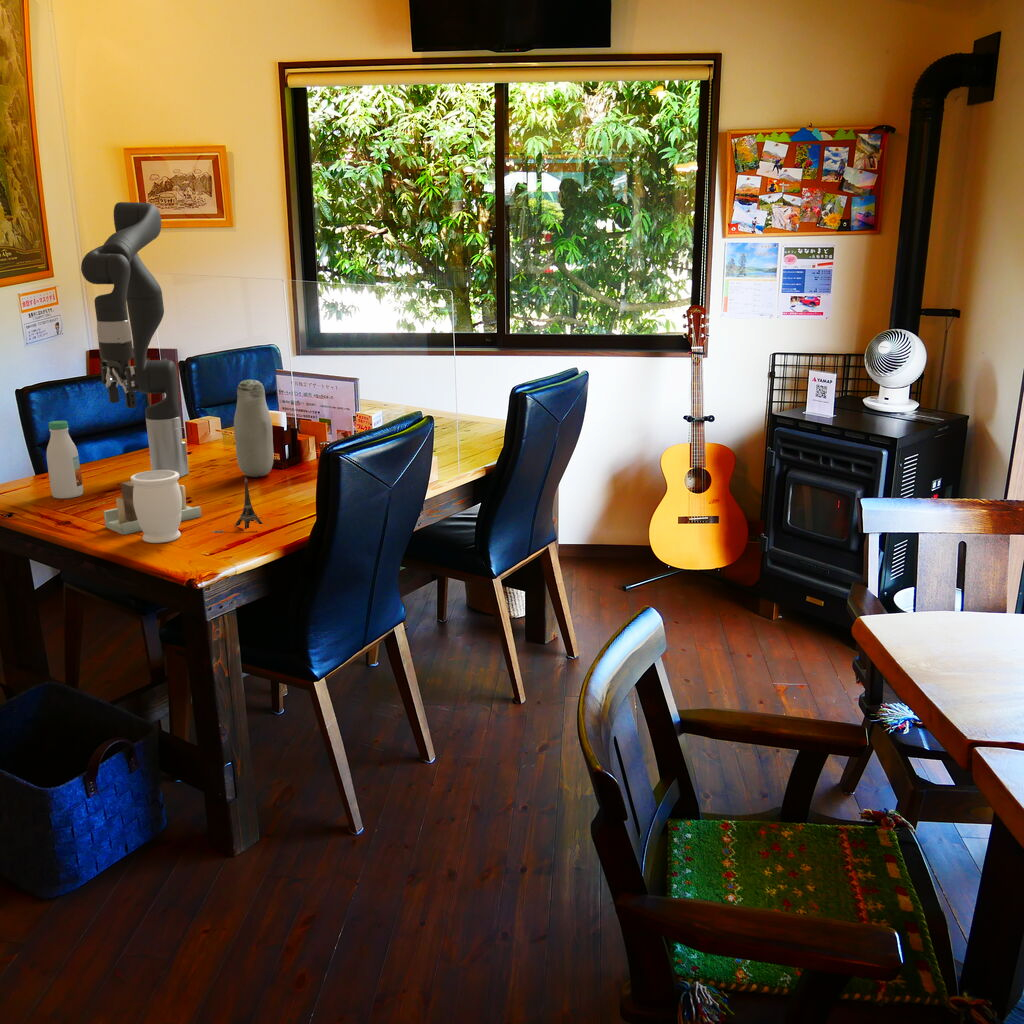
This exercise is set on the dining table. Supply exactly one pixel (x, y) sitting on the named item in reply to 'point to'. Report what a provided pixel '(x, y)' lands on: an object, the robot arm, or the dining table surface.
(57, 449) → the milk bottle
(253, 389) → the grey bottle
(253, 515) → the eiffel tower figurine
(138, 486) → the jar
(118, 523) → the ledge
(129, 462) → the dining table surface
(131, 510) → the wooden block
